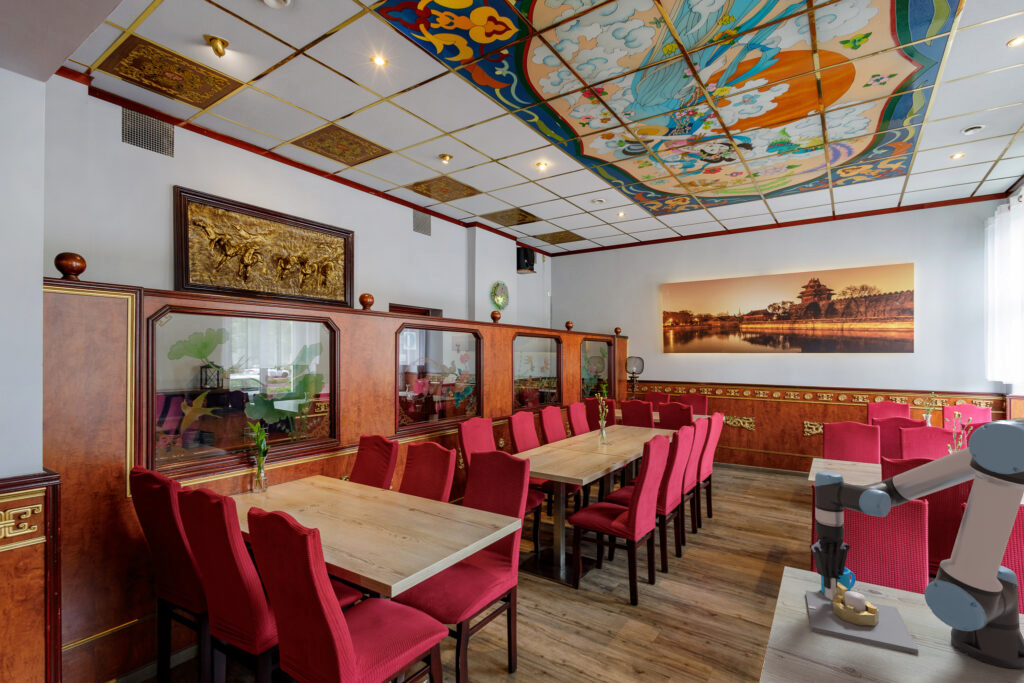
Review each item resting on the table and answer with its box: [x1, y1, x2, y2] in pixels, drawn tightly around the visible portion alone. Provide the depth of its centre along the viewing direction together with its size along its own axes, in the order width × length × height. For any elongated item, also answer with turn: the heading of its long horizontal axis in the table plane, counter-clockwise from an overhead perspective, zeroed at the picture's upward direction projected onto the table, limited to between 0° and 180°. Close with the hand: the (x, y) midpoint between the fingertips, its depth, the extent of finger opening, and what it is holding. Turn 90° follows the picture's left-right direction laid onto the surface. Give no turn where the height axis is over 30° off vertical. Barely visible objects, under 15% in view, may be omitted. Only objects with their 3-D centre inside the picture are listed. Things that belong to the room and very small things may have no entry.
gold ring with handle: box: [833, 582, 879, 626], centre depth 145 cm, size 15×10×6 cm
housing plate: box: [805, 590, 919, 655], centre depth 143 cm, size 24×24×8 cm
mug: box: [820, 566, 857, 594], centre depth 160 cm, size 12×8×8 cm
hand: (830, 598), depth 151 cm, fingers closed
